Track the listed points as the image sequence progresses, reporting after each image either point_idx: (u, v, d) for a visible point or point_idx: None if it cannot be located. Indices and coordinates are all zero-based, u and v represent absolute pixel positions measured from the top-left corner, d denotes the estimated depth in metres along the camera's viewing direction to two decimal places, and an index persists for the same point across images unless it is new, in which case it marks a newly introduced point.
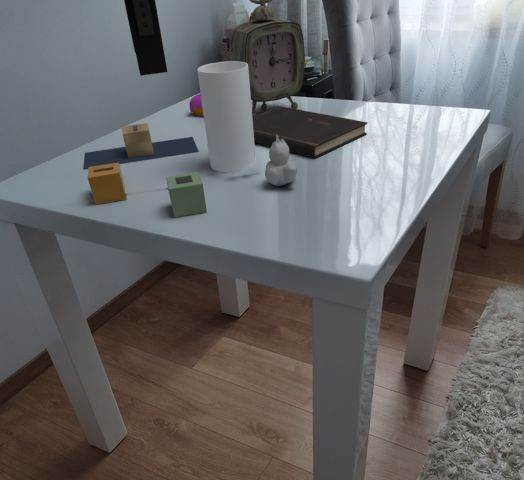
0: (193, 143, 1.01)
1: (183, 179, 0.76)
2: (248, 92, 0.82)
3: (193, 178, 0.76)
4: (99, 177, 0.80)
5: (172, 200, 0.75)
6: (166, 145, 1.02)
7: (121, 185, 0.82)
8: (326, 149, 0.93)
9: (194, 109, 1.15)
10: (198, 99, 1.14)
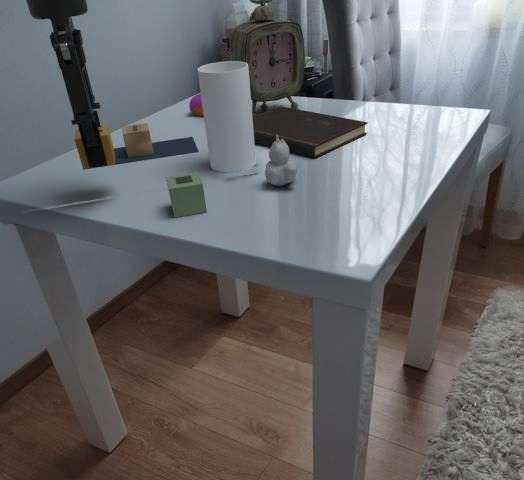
0: (193, 143, 1.01)
1: (183, 179, 0.76)
2: (248, 92, 0.82)
3: (193, 178, 0.76)
4: None
5: (172, 200, 0.75)
6: (166, 145, 1.02)
7: (110, 148, 0.78)
8: (326, 149, 0.93)
9: (194, 109, 1.15)
10: (198, 99, 1.14)
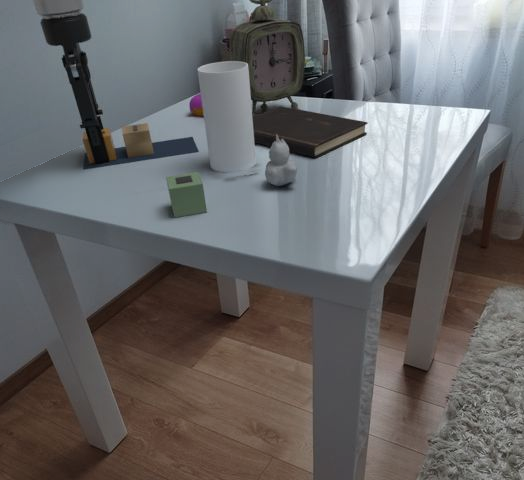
0: (193, 143, 1.01)
1: (183, 179, 0.76)
2: (248, 92, 0.82)
3: (193, 178, 0.76)
4: None
5: (172, 200, 0.75)
6: (166, 145, 1.02)
7: (111, 147, 0.95)
8: (326, 149, 0.93)
9: (194, 109, 1.15)
10: (198, 99, 1.14)
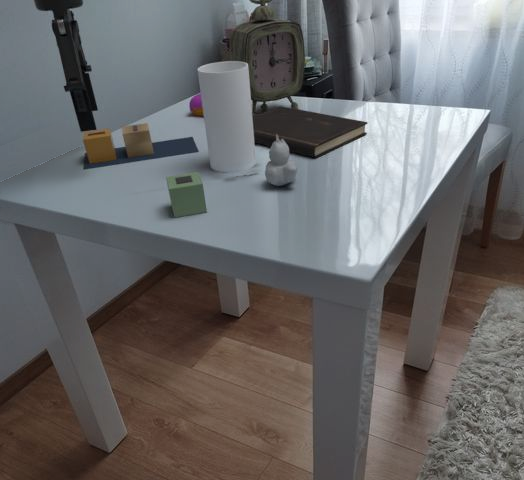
0: (193, 143, 1.01)
1: (183, 179, 0.76)
2: (248, 92, 0.82)
3: (193, 178, 0.76)
4: (93, 139, 0.94)
5: (172, 200, 0.75)
6: (166, 145, 1.02)
7: (111, 147, 0.95)
8: (326, 149, 0.93)
9: (194, 109, 1.15)
10: (198, 99, 1.14)
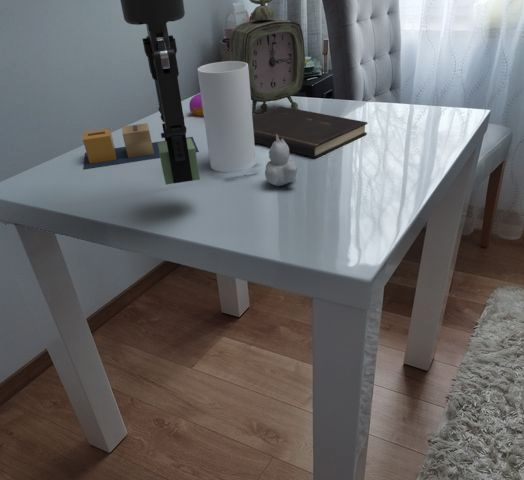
0: (193, 143, 1.01)
1: None
2: (248, 92, 0.82)
3: None
4: (93, 139, 0.94)
5: (163, 165, 0.71)
6: None
7: (111, 147, 0.95)
8: (326, 149, 0.93)
9: (194, 109, 1.15)
10: (198, 99, 1.14)
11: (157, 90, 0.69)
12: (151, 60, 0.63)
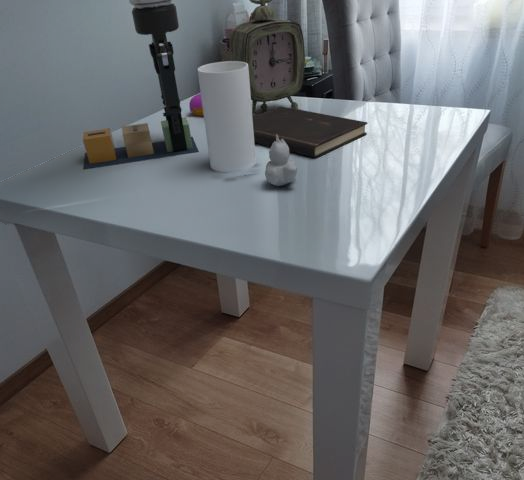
0: (193, 143, 1.01)
1: None
2: (248, 92, 0.82)
3: None
4: (93, 139, 0.94)
5: (165, 137, 0.97)
6: None
7: (111, 147, 0.95)
8: (326, 149, 0.93)
9: (194, 109, 1.15)
10: (198, 99, 1.14)
11: (160, 82, 0.95)
12: (155, 60, 0.89)
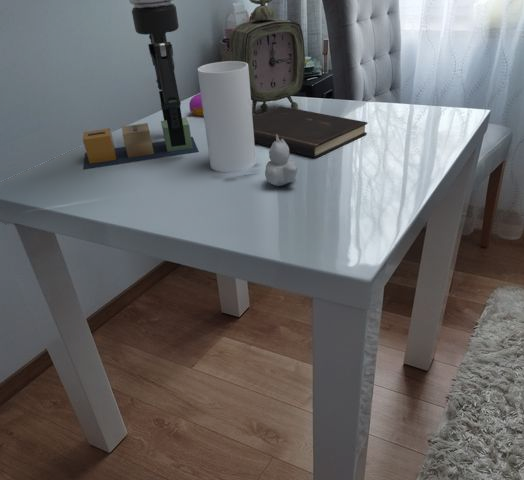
0: (193, 143, 1.01)
1: None
2: (248, 92, 0.82)
3: (182, 121, 0.98)
4: (93, 139, 0.94)
5: (165, 137, 0.97)
6: None
7: (111, 147, 0.95)
8: (326, 149, 0.93)
9: (194, 109, 1.15)
10: (198, 99, 1.14)
11: (157, 74, 0.96)
12: (154, 56, 0.88)
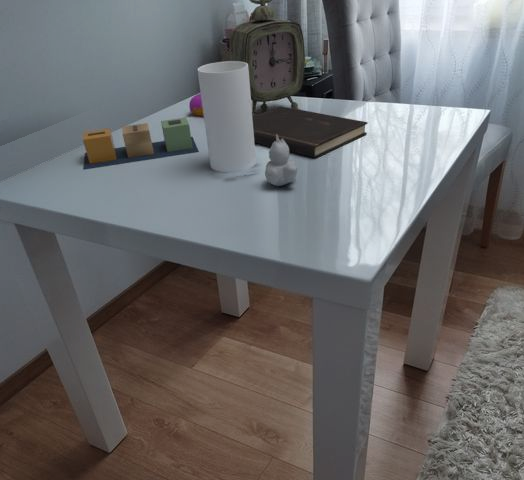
0: (193, 143, 1.01)
1: (174, 122, 0.98)
2: (248, 92, 0.82)
3: (182, 121, 0.98)
4: (93, 139, 0.94)
5: (165, 137, 0.97)
6: None
7: (111, 147, 0.95)
8: (326, 149, 0.93)
9: (194, 109, 1.15)
10: (198, 99, 1.14)
11: None
12: None
